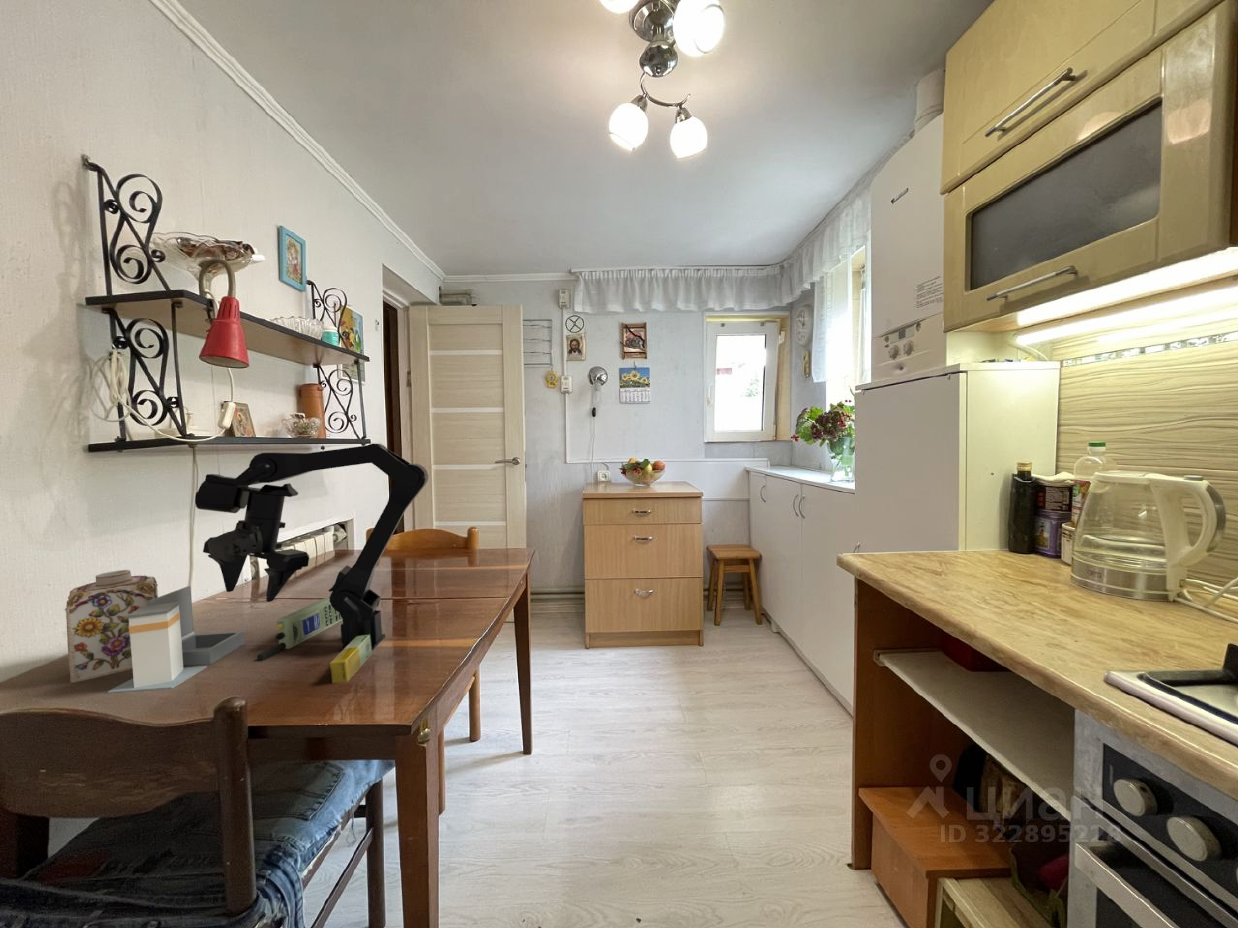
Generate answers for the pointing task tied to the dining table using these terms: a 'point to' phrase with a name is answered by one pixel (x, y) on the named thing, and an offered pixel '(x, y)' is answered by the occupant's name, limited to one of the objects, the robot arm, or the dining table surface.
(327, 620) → the handheld radio
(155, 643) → the block
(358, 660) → the medication box
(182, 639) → the case
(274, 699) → the dining table surface
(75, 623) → the decorative jar
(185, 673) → the pad
